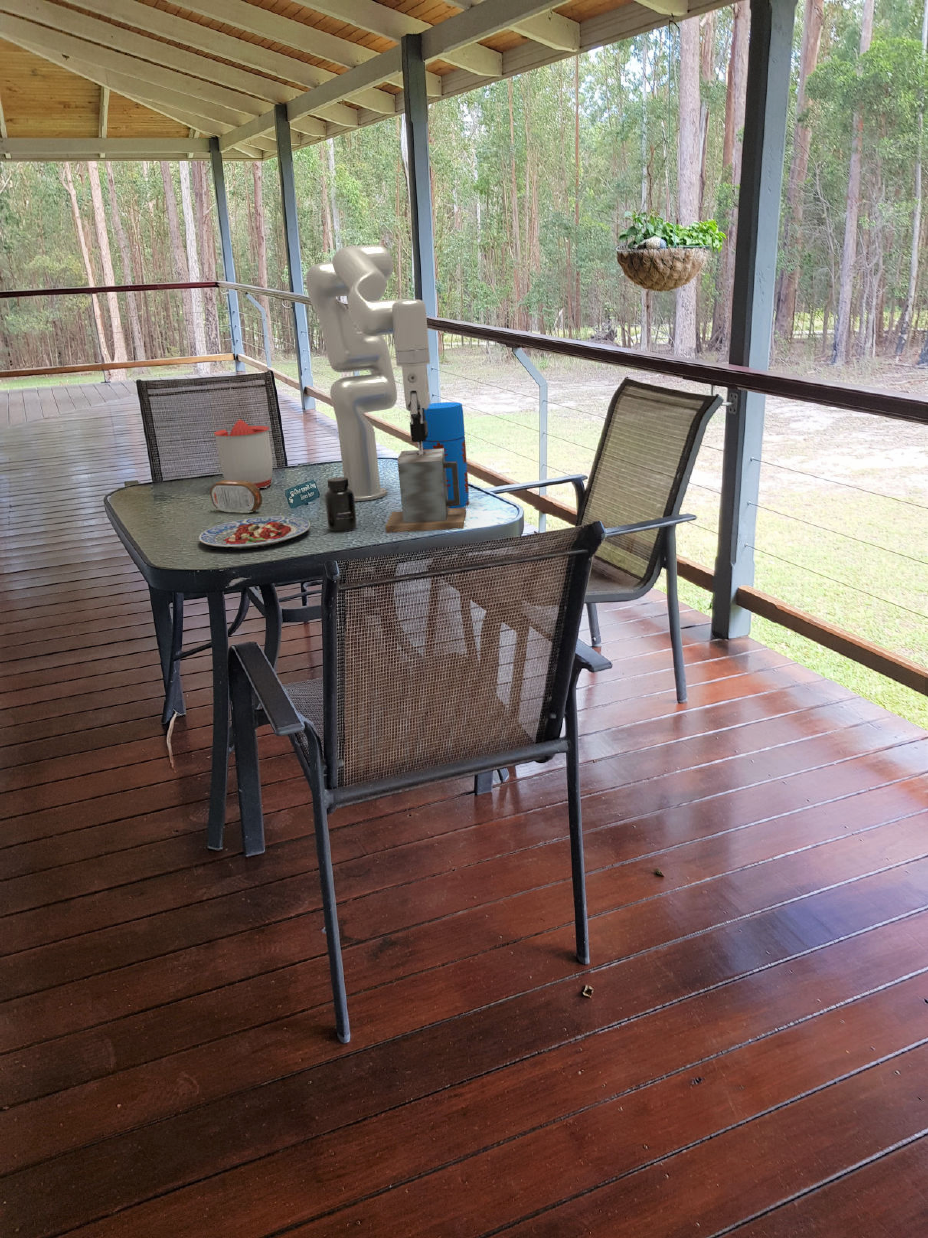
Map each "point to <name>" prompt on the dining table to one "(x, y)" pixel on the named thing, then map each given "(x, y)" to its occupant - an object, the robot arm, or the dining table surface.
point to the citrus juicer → (245, 454)
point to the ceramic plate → (256, 531)
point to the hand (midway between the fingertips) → (419, 438)
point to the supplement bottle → (340, 505)
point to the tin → (236, 495)
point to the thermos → (449, 443)
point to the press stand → (426, 493)
